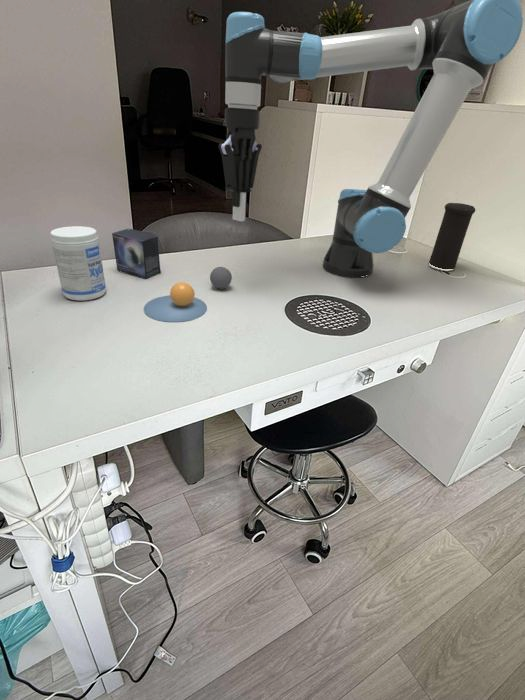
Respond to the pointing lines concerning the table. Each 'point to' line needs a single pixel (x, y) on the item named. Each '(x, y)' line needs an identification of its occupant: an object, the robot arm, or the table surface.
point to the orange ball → (182, 294)
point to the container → (451, 235)
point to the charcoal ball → (220, 277)
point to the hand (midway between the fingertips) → (238, 219)
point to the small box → (136, 253)
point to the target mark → (174, 310)
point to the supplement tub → (78, 262)
